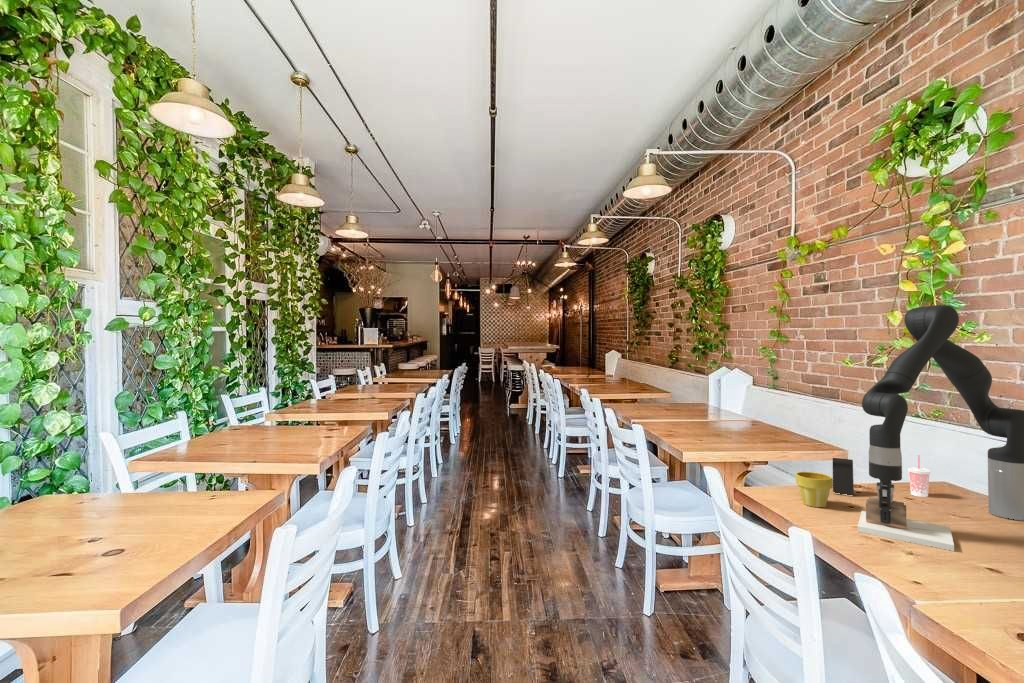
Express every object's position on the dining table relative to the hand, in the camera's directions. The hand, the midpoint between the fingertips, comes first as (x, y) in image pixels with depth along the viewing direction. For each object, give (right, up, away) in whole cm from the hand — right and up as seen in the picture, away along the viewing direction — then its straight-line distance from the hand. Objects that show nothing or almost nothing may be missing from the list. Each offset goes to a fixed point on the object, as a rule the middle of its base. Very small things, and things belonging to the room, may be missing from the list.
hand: (885, 519), depth 134 cm
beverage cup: (+36, -3, +30) cm, 47 cm away
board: (+3, -3, -2) cm, 5 cm away
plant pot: (-7, -3, +21) cm, 22 cm away
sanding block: (0, -1, 0) cm, 1 cm away
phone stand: (+12, -3, +34) cm, 36 cm away
